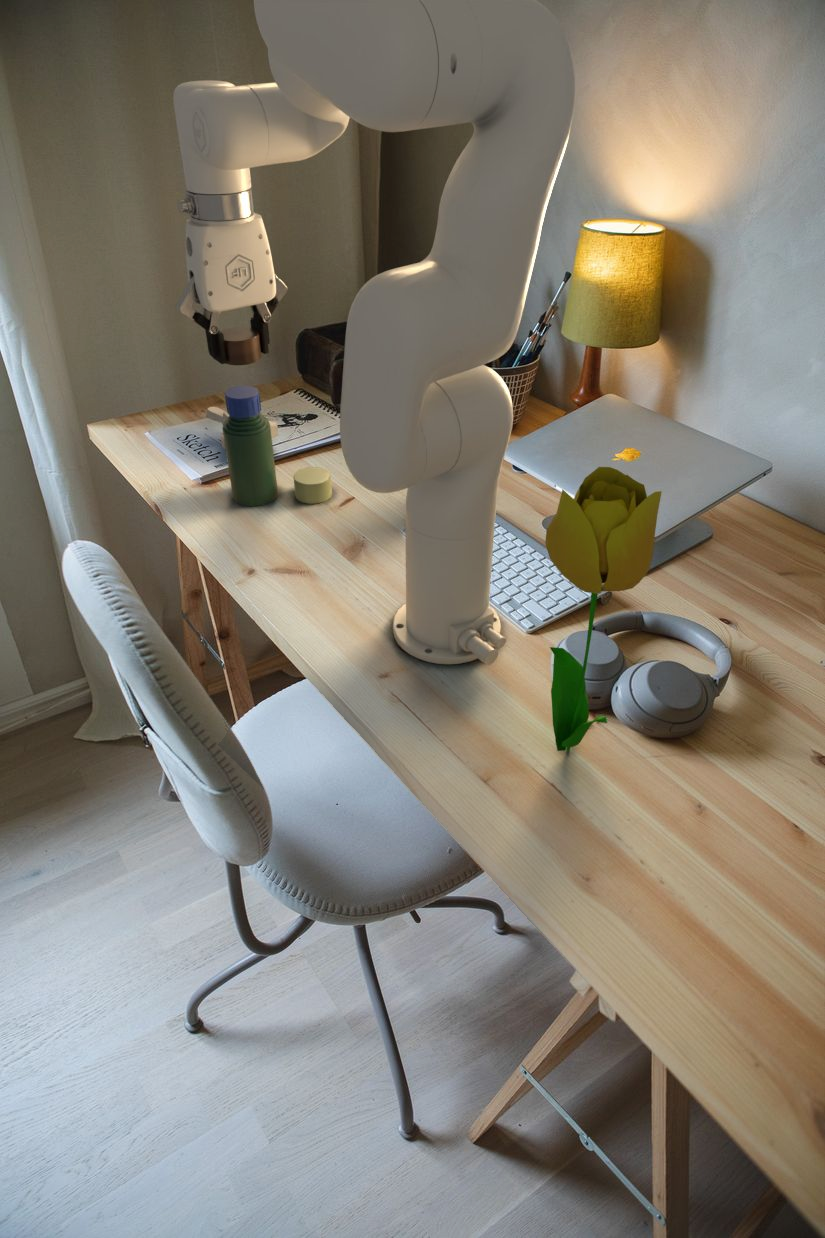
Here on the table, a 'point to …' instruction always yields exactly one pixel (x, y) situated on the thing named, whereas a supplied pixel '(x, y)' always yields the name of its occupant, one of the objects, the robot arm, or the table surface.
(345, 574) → the table surface
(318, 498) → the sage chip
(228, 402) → the cap
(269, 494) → the bottle
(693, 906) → the table surface
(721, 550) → the table surface
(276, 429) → the bunny figurine
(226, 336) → the brown wooden puck
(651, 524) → the flower
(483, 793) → the table surface
